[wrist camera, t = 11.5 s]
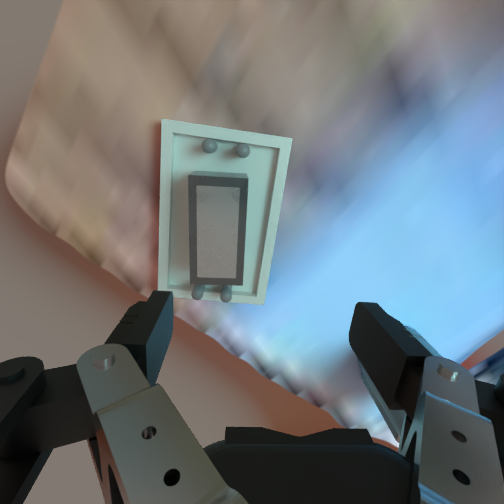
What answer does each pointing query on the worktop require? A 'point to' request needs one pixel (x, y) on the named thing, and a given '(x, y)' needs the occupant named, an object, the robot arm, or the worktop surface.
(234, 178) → the block
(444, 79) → the worktop surface
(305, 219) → the worktop surface
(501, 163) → the worktop surface
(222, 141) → the tray
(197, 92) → the worktop surface
